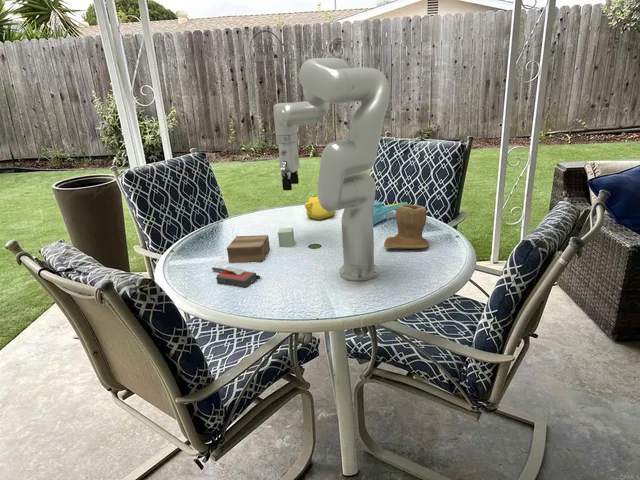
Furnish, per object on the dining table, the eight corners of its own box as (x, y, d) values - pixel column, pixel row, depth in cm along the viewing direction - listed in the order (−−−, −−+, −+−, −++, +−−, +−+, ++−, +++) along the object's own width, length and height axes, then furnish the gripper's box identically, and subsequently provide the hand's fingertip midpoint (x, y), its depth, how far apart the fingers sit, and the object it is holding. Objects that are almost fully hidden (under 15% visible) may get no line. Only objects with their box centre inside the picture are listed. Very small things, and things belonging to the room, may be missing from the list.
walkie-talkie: (265, 278, 141) (215, 270, 149) (263, 265, 139) (212, 258, 148) (249, 290, 133) (197, 281, 142) (247, 276, 132) (195, 269, 140)
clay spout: (428, 240, 161) (428, 200, 156) (428, 252, 151) (429, 210, 146) (386, 240, 165) (385, 201, 160) (383, 252, 154) (382, 210, 149)
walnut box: (262, 263, 153) (260, 246, 151) (229, 263, 154) (226, 247, 152) (270, 250, 164) (268, 235, 162) (238, 251, 165) (236, 236, 163)
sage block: (292, 247, 165) (291, 232, 163) (279, 247, 165) (277, 232, 163) (294, 242, 169) (293, 227, 167) (281, 243, 170) (280, 228, 168)
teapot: (310, 212, 207) (308, 191, 203) (337, 212, 205) (336, 190, 201) (304, 221, 194) (302, 199, 190) (333, 221, 192) (332, 198, 188)
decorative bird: (335, 230, 180) (333, 208, 177) (382, 212, 199) (382, 192, 195) (360, 237, 170) (359, 214, 167) (408, 217, 189) (408, 196, 186)
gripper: (290, 142, 147) (295, 192, 153) (302, 135, 163) (306, 181, 169) (269, 143, 149) (274, 193, 155) (283, 136, 165) (287, 181, 171)
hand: (291, 186), depth 162 cm, fingers open, 9 cm apart
